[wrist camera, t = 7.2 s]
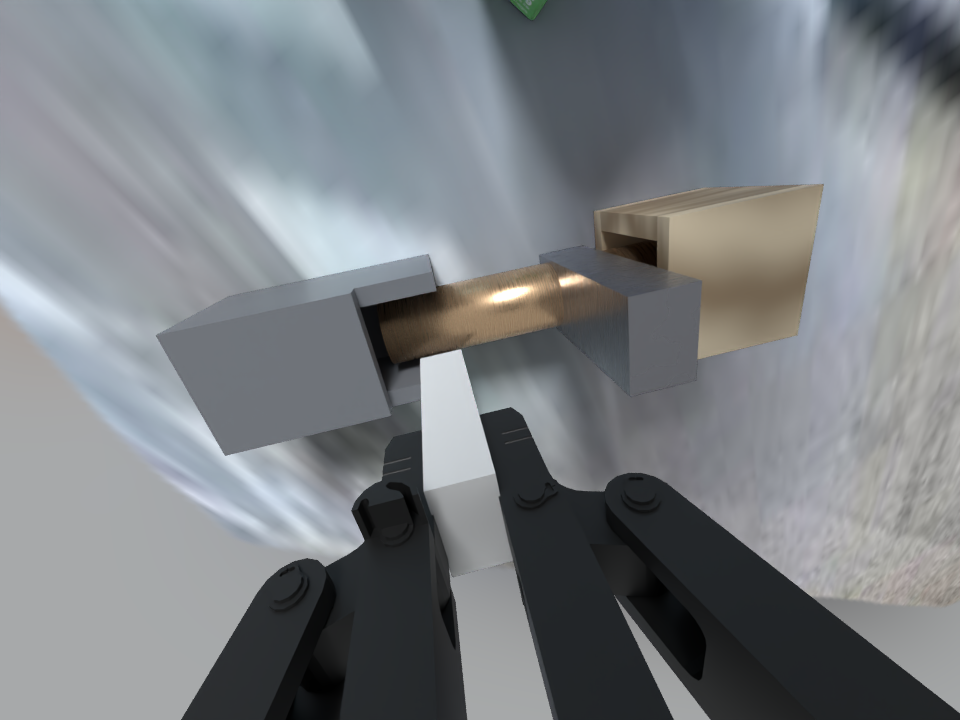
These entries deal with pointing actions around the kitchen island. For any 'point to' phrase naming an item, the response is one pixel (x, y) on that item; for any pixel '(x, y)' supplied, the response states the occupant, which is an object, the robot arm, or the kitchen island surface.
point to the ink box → (529, 7)
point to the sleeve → (298, 356)
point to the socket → (729, 254)
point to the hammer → (566, 314)
